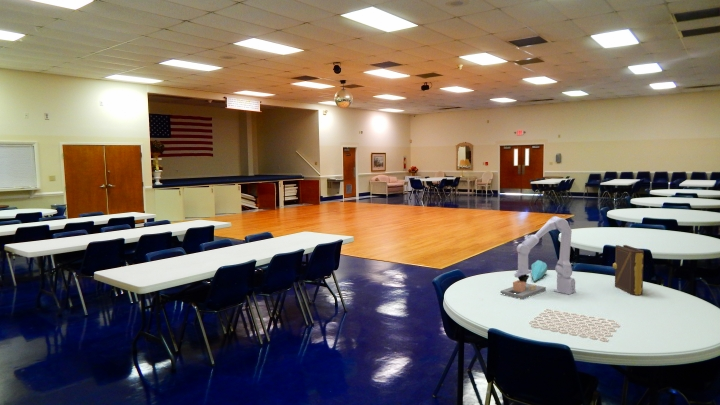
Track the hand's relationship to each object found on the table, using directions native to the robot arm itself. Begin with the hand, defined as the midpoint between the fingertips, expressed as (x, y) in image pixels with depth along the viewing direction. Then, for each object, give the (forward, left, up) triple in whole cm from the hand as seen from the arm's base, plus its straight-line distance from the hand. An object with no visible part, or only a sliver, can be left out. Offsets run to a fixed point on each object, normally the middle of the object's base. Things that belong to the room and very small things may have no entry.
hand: (523, 287), depth 272 cm
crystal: (+13, -38, -3) cm, 40 cm away
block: (0, +4, -1) cm, 4 cm away
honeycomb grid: (-45, +30, -4) cm, 54 cm away
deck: (0, 0, -3) cm, 3 cm away
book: (-39, -46, -3) cm, 61 cm away
